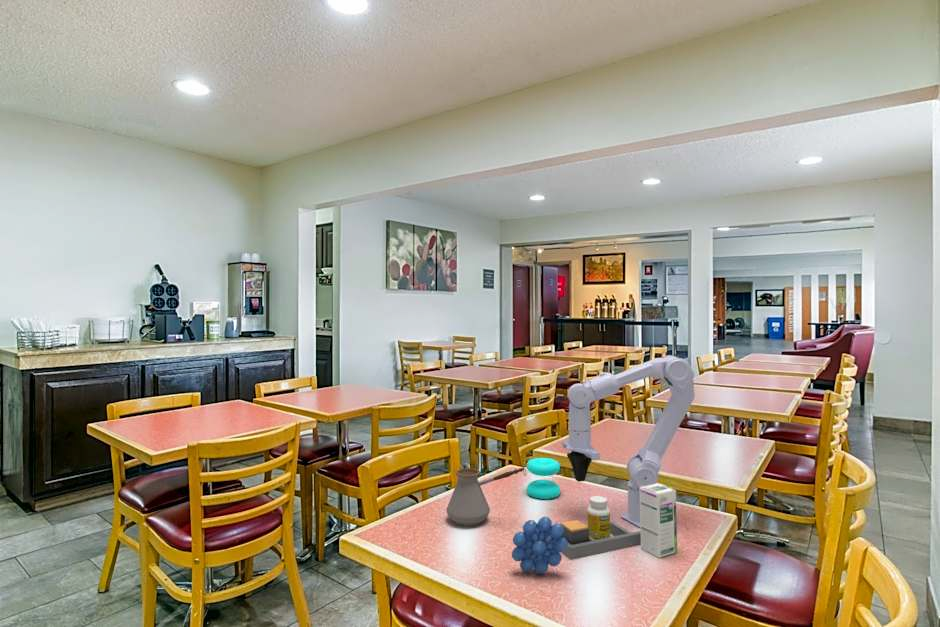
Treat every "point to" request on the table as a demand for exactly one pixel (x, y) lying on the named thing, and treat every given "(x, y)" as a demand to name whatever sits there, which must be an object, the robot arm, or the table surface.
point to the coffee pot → (471, 497)
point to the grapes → (539, 545)
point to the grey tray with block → (586, 545)
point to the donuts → (543, 487)
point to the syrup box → (658, 520)
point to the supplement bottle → (598, 518)
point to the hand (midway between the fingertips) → (580, 480)
